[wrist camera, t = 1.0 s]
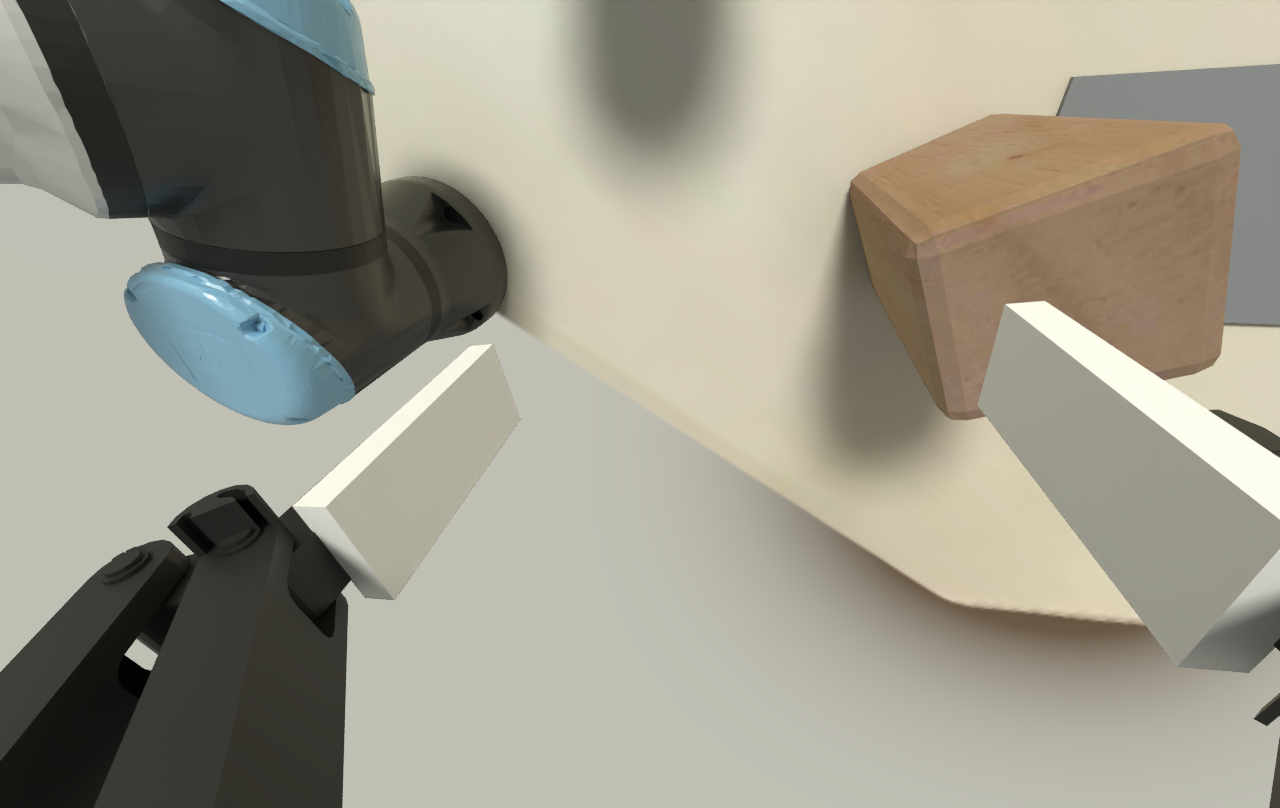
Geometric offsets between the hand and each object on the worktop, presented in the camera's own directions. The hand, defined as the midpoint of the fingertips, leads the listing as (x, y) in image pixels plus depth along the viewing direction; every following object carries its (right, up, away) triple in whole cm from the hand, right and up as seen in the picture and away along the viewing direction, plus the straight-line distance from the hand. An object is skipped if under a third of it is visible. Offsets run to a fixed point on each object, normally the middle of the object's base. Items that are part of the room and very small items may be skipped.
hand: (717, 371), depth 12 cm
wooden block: (+20, +14, +22) cm, 33 cm away
